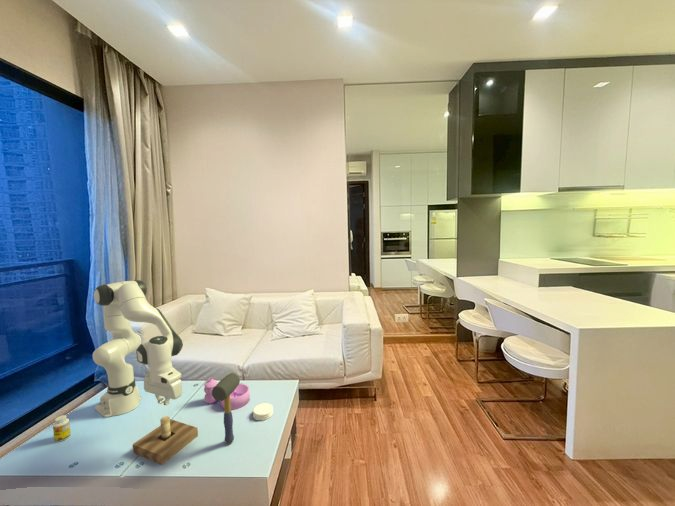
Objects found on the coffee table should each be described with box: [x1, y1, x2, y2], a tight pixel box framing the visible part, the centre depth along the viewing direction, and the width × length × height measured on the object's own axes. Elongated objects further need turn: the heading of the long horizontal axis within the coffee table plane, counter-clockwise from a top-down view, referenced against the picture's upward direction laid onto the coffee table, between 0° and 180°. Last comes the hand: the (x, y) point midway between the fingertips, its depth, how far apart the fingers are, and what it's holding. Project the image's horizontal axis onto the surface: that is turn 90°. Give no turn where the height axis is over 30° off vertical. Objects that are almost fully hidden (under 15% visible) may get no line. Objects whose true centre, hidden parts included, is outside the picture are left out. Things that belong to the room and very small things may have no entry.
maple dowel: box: [160, 415, 171, 441], centre depth 131 cm, size 4×4×12 cm
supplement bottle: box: [52, 414, 72, 443], centre depth 137 cm, size 6×6×10 cm
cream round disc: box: [252, 402, 274, 422], centre depth 151 cm, size 10×10×4 cm
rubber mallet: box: [212, 372, 241, 445], centre depth 131 cm, size 12×8×30 cm, turn 170°
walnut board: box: [132, 418, 199, 465], centre depth 132 cm, size 18×18×4 cm
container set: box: [203, 377, 251, 411], centre depth 163 cm, size 25×15×13 cm, turn 86°
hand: (163, 403), depth 130 cm, fingers open, 2 cm apart
